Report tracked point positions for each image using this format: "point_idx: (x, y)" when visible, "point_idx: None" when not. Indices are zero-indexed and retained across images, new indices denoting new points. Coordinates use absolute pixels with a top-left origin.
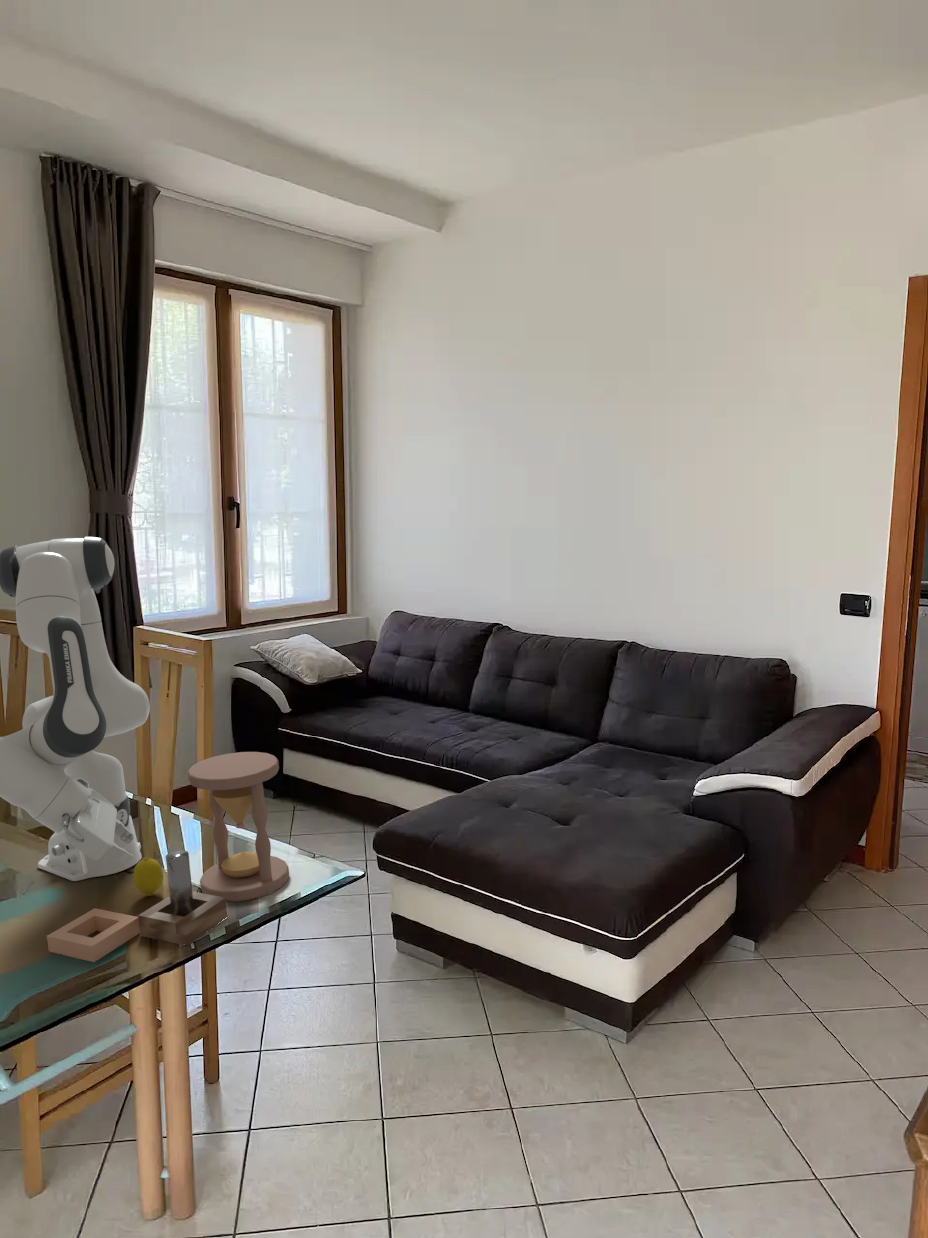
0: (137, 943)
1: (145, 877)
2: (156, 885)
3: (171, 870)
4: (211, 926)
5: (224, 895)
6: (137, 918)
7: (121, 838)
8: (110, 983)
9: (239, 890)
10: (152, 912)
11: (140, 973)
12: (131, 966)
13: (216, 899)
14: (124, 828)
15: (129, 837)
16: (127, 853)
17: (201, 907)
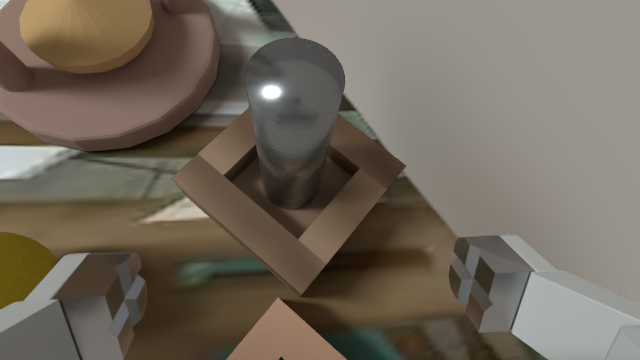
0: (336, 303)
1: (30, 285)
2: (54, 257)
3: (329, 129)
4: None
5: (198, 94)
6: (281, 301)
7: (119, 351)
8: (518, 352)
9: (208, 57)
10: (298, 252)
11: None
12: (450, 308)
13: None
14: (28, 322)
15: (129, 282)
16: (540, 258)
17: None
